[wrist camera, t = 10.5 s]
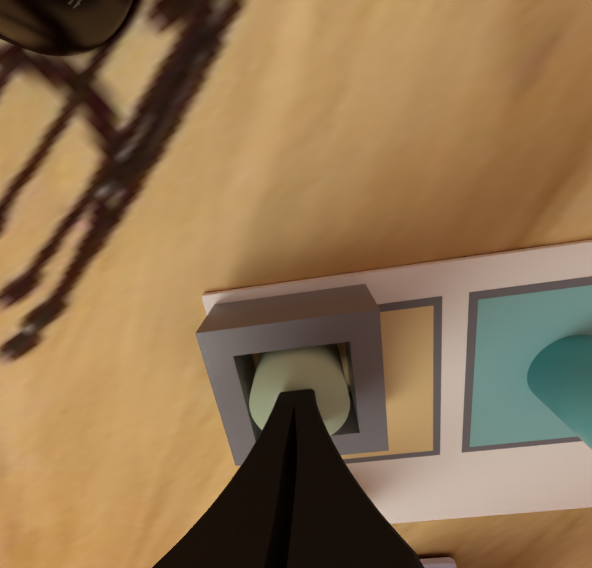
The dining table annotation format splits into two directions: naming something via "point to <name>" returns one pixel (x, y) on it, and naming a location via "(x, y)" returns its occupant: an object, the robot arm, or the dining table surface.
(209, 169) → the dining table surface
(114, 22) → the supplement bottle
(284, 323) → the button collar
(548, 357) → the teal capped bottle
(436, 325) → the picture card
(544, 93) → the dining table surface
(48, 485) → the dining table surface
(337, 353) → the button
